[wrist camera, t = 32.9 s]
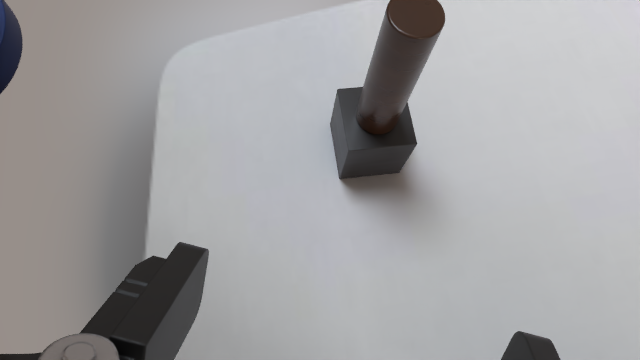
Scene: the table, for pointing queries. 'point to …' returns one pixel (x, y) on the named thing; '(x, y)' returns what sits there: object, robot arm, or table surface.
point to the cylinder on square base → (386, 93)
